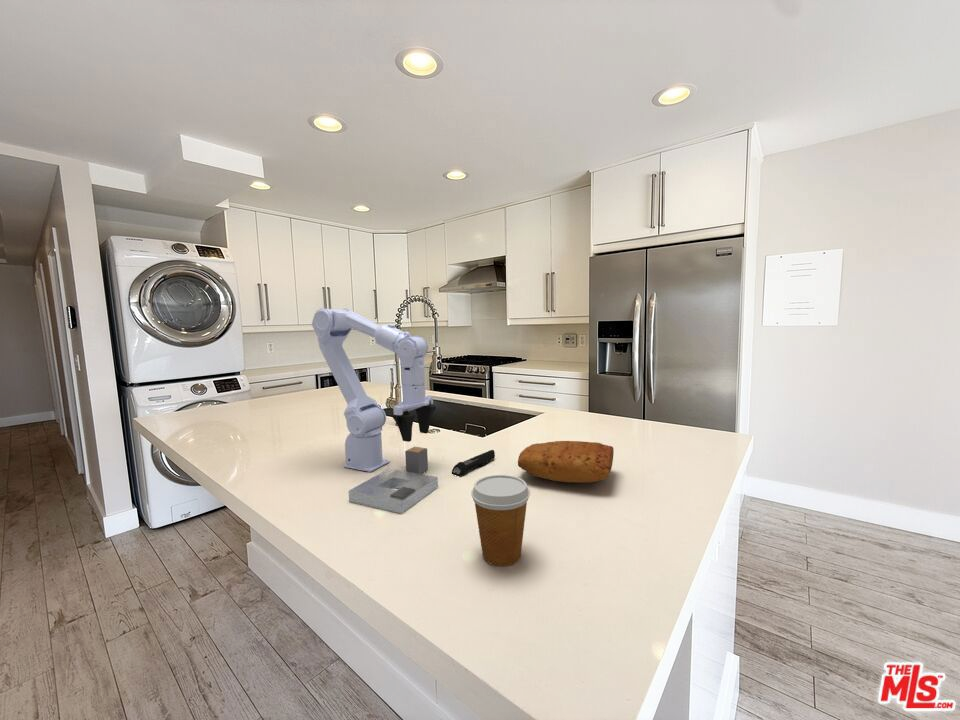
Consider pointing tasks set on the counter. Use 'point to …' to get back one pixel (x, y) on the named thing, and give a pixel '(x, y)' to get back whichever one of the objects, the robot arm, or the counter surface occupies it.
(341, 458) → the counter surface
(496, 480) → the disposable coffee cup
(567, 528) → the counter surface
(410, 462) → the plug
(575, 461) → the baked loaf
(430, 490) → the socket plate
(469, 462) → the electric trimmer
